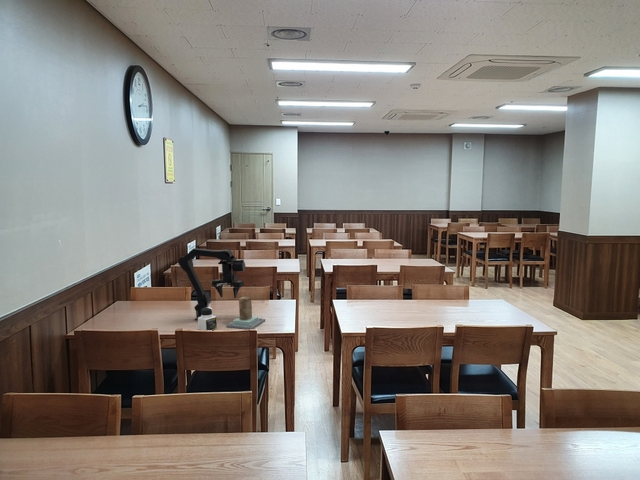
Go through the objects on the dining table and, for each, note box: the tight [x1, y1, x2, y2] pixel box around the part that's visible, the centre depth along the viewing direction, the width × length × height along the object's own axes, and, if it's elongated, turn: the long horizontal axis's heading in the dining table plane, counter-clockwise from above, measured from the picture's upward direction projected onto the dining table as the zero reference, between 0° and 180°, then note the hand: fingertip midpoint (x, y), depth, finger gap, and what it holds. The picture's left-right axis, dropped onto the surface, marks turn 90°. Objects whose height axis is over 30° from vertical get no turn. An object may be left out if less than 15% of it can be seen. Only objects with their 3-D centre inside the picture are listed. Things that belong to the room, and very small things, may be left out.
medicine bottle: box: [197, 306, 218, 331], centre depth 240 cm, size 7×7×12 cm
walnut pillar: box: [238, 296, 253, 320], centre depth 247 cm, size 5×5×12 cm
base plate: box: [225, 315, 266, 330], centre depth 248 cm, size 16×16×3 cm
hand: (228, 297), depth 256 cm, fingers open, 9 cm apart
